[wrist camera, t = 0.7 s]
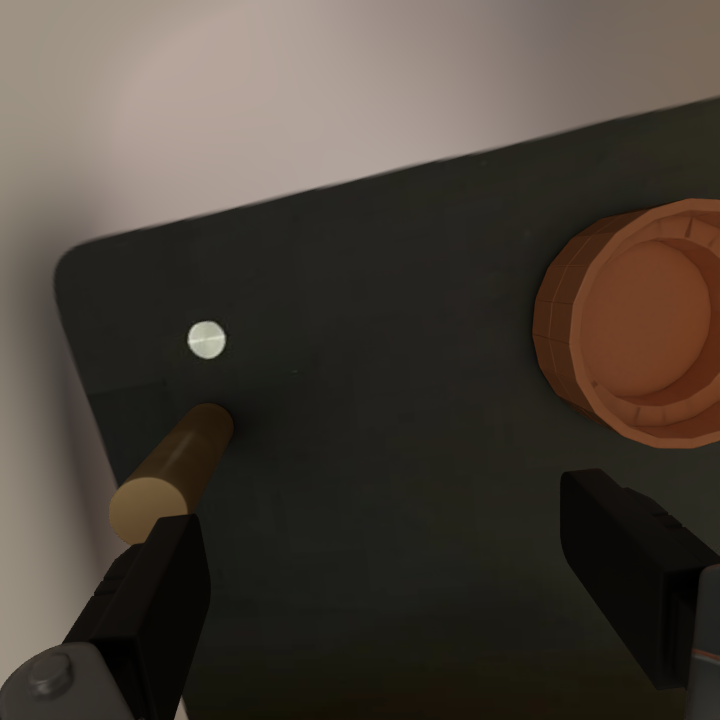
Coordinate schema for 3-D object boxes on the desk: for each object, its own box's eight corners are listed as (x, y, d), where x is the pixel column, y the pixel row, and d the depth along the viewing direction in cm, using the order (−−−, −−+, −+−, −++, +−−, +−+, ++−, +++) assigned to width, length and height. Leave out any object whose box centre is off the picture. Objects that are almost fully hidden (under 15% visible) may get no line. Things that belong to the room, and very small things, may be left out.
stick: (176, 410, 32) (96, 490, 20) (224, 396, 32) (173, 467, 21) (192, 456, 33) (123, 559, 21) (240, 442, 33) (198, 537, 21)
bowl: (507, 244, 32) (546, 238, 27) (713, 186, 33) (792, 168, 27) (553, 446, 35) (597, 478, 29) (744, 388, 35) (822, 409, 30)
